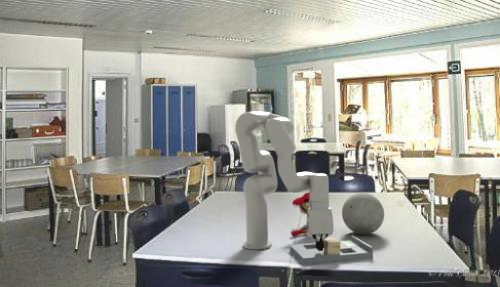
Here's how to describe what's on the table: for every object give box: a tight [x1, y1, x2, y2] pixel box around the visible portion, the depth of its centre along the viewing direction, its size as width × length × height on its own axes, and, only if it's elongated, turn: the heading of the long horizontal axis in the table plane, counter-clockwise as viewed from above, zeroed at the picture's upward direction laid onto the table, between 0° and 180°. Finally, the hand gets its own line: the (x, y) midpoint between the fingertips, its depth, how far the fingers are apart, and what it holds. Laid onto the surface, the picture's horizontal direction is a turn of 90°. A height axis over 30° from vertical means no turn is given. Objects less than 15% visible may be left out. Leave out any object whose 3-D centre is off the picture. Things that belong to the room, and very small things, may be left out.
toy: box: [290, 191, 310, 238], centre depth 207 cm, size 7×27×20 cm, turn 127°
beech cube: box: [324, 237, 341, 255], centre depth 167 cm, size 5×5×5 cm
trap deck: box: [289, 235, 374, 265], centre depth 172 cm, size 18×29×4 cm, turn 101°
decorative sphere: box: [341, 192, 385, 235], centre depth 202 cm, size 20×20×20 cm
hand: (319, 250), depth 167 cm, fingers closed
